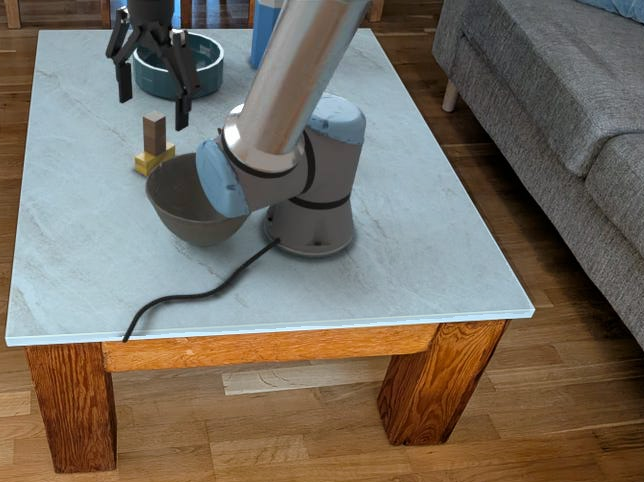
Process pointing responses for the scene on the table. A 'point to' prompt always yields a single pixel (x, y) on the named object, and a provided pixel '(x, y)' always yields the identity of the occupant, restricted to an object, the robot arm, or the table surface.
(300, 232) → the robot arm
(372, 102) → the table surface
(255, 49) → the water bottle
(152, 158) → the yellow-tipped brown block
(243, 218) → the bowl
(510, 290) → the table surface
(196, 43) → the wash bowl
